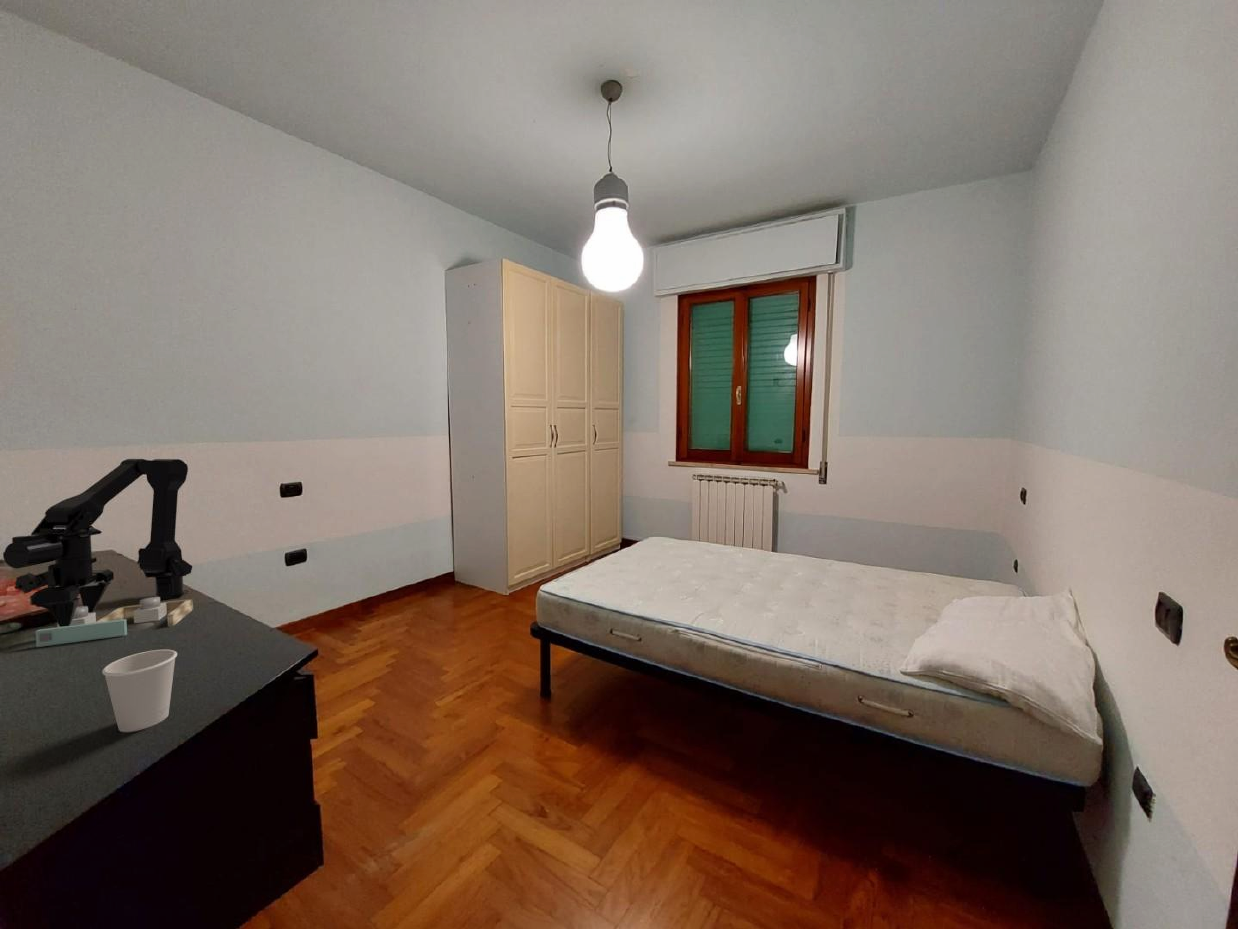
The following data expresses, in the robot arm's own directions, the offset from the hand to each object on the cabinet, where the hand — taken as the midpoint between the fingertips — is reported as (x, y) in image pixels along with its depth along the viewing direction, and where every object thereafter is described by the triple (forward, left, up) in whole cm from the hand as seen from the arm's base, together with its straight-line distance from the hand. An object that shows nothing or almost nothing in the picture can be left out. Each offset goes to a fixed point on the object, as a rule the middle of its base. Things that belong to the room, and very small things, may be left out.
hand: (77, 621), depth 110 cm
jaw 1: (0, 0, -2) cm, 2 cm away
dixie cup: (+55, +32, -2) cm, 64 cm away
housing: (+2, +13, -2) cm, 13 cm away
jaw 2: (0, +13, -2) cm, 13 cm away
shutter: (+10, +5, -2) cm, 12 cm away
